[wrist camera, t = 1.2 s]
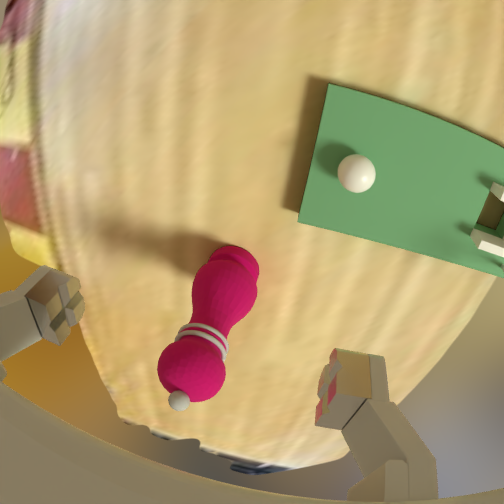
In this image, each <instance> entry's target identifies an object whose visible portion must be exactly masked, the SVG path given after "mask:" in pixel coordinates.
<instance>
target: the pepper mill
mask: <svg viewBox="0 0 504 504" xmlns="http://www.w3.org/2000/svg"><path fill="white" fill-rule="evenodd" d="M258 276H259V266H258V263H257V261H256V259H255V258H254V257H253V256H252V255H251V254H250V253H249V252H247V251H246V250H244V249H242V248H240V247H235V246H225V247H221V248H219V249H217V250H216V251H215V252H214V253H213V254H212V255H211V257H210V259H209V261H208V263H207V264H205V265H203V266H202V267H201V268H200V269H199V270H198V272H197V274H196V276H195V279H194V282H193V286H192V304H193V313H192V317H191V320H190V322H189V323H188V324H186V325H184V326H183V327H181V328H180V330H179V332H178V335H177V336H176V338H175V341H174V343H171V344H169V345H168V346H167V347H166V348H165V349H164V350H163V352H162V354H161V356H160V358H159V361H158V368H157V371H158V376H159V379H160V382H161V383H162V385H163V386H164V388H165V389H166V390H167V391H168V392H169V393H171V394H170V396H169V399H168V401H169V405H170V406H171V408H173V409H174V410H176V411H183V410H185V409H186V408H187V407H188V406H189V404H190V402H201V401H205V400H208V399H210V398H212V397H213V396H214V395H216V394H217V393H218V391H219V390H220V389H221V387H222V385H223V383H224V380H225V376H226V372H225V365H224V363H223V362H224V361H225V359H226V354H227V353H228V350H229V344H228V342H227V336H228V334H229V331H230V329H231V328H232V326H233V325H235V324H236V323H237V322H238V321H240V320H241V319H242V318H244V317H245V316H246V315H247V313H248V312H249V311H250V310H251V308H252V307H253V305H254V302H255V300H256V297H257V286H256V282H257V279H258Z"/></svg>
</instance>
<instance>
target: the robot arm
mask: <svg viewBox="0 0 504 504" xmlns="http://www.w3.org/2000/svg"><path fill="white" fill-rule="evenodd" d="M80 289H81V285H80V281H79V279H78V278H76V277H73V276H71V275H68V274H66V273H63V272H61V271H58V270H56V269H53V268H50V267H48V266H46V265H44V266H40V267H39V268H38V269H37V270H36V271H35V272H34V273H33V274H31V275H30V276H29V277H28V278H27V279H26V280H25V281H24V282H23V283H22V284H21V285H20V286H19V287H18V288H17V289H16V290H15V291H12V290H10V291H8V292H5V293H2V294H0V504H504V488H501V489H497V490H492V491H488V492H482V493H477V494H471V495H464V496H457V497H449V498H441V499H438V483H437V470H436V460H435V457H434V456H433V455H432V453H431V452H430V451H429V449H428V448H427V446H426V445H425V444H424V442H423V441H422V440H421V438H420V437H419V435H418V434H417V433H416V431H415V430H414V429H413V427H412V426H411V425H410V423H409V422H408V420H407V419H406V418H405V416H404V415H403V414H402V412H401V411H400V410H399V408H398V407H397V406H396V404H395V403H394V402H390V401H389V390H388V381H387V372H386V364H385V359H384V357H383V356H378V355H372V354H366V353H360V352H355V351H349V350H343V349H338V348H335V349H334V350H333V351H332V353H331V355H330V362H329V364H327V365H325V367H324V369H323V371H322V373H321V376H320V380H319V385H318V393H317V395H318V396H319V398H320V401H319V403H318V405H317V406H316V416H315V426H320V427H325V428H331V429H337V430H342V431H341V432H342V434H343V436H344V438H345V440H346V442H347V444H348V446H349V448H350V450H351V452H352V454H353V456H354V458H355V460H356V462H357V464H358V466H359V468H360V470H361V472H362V474H363V477H364V479H363V480H361V481H360V482H358V483H357V484H355V485H354V486H353V487H351V488H350V489H348V493H347V501H336V500H325V499H314V498H305V497H297V496H290V495H283V494H277V493H271V492H265V491H260V490H254V489H249V488H245V487H239V486H235V485H231V484H227V483H223V482H219V481H215V480H211V479H208V478H204V477H200V476H197V475H193V474H190V473H187V472H184V471H181V470H177V469H174V468H171V467H168V466H165V465H163V464H160V463H157V462H154V461H152V460H149V459H146V458H143V457H141V456H138V455H136V454H133V453H131V452H128V451H126V450H124V449H121V448H119V447H117V446H114V445H112V444H110V443H107V442H105V441H103V440H101V439H99V438H97V437H95V436H93V435H91V434H89V433H86V432H84V431H82V430H81V429H78V428H77V427H75V426H73V425H71V424H69V423H67V422H65V421H63V420H61V419H60V418H58V417H56V416H54V415H53V414H51V413H49V412H47V411H46V410H44V409H42V408H41V407H39V406H37V405H35V404H34V403H33V402H31V401H29V400H28V399H26V398H25V397H23V396H21V395H20V394H18V393H17V392H15V391H14V390H12V389H11V388H10V387H8V386H7V385H5V384H4V383H2V380H3V379H4V378H5V377H6V375H7V371H6V369H5V368H4V366H3V364H2V363H1V362H2V361H3V360H5V359H7V358H9V357H10V356H12V355H14V354H16V353H18V352H19V351H21V350H23V349H25V348H26V347H28V346H30V345H32V344H33V343H35V342H37V341H39V340H41V339H42V338H44V339H46V340H48V341H50V342H53V343H55V344H57V345H59V346H60V345H61V344H62V343H63V341H64V340H65V339H66V338H67V336H68V335H69V334H70V327H71V326H73V325H76V324H77V323H78V322H79V321H80V319H81V318H82V316H83V313H84V310H85V302H84V298H83V296H82V295H81V294H80V292H79V290H80ZM41 337H42V338H41Z"/></svg>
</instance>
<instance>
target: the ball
mask: <svg viewBox="0 0 504 504" xmlns="http://www.w3.org/2000/svg"><path fill="white" fill-rule="evenodd" d="M375 176H376V172H375V168H374V165H373V164H372V162H371V161H370V160H369V159H368V158H367V157H365V156H363V155H359V154H353V155H349V156H347V157H345V158H344V159H343V160H342V161H341V163H340V164H339V167H338V179H339V181H340V183H341V185H342V186H343V187H344V188H345V189H347V190H348V191H351V192H354V193H360V192H364V191H366V190H368V189H369V188H370V187H371V186H372V185H373V183H374V181H375Z"/></svg>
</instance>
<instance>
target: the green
mask: <svg viewBox="0 0 504 504" xmlns="http://www.w3.org/2000/svg"><path fill="white" fill-rule="evenodd" d="M353 154H359V155H363V156H365V157H367V158H368V159H369V160H370V161H371V162H372V164H373V165H374V168H375V172H376V176H375V181H374V183H373V185H372V186H371V187H370V188H369V189H368V190H366V191H364V192H360V193H354V192H351V191H348V190H347V189H345V188H344V187H343V186H342V185H341V183H340V181H339V179H338V167H339V164H340V163H341V161H342V160H343V159H344V158H345V157H347V156H349V155H353ZM489 191H491V192H492V193H493V194H494V195H495V196H496V197H497V198H498V199H499V200H500V201H503V202H504V148H503V147H501V146H499V145H498V144H496V143H494V142H492V141H490V140H487V139H485V138H483V137H481V136H479V135H477V134H475V133H473V132H471V131H468V130H466V129H464V128H462V127H459V126H457V125H455V124H452V123H450V122H448V121H445V120H443V119H440V118H438V117H435V116H433V115H430V114H427V113H425V112H422V111H419V110H417V109H414V108H411V107H408V106H405V105H403V104H400V103H397V102H394V101H391V100H388V99H384V98H381V97H378V96H375V95H371V94H368V93H365V92H361V91H357V90H354V89H350V88H346V87H343V86H339V85H335V84H331V83H328V87H327V92H326V97H325V101H324V106H323V111H322V115H321V120H320V125H319V129H318V134H317V138H316V143H315V147H314V152H313V156H312V160H311V165H310V169H309V173H308V178H307V182H306V186H305V190H304V195H303V199H302V203H301V207H300V211H299V216H298V222H299V223H303V224H308V225H312V226H316V227H320V228H324V229H328V230H332V231H336V232H340V233H344V234H348V235H352V236H356V237H360V238H364V239H367V240H371V241H375V242H379V243H383V244H387V245H390V246H394V247H398V248H401V249H405V250H409V251H412V252H416V253H420V254H423V255H427V256H430V257H434V258H438V259H441V260H445V261H448V262H451V263H455V264H458V265H462V266H465V267H469V268H472V269H475V270H479V271H482V272H485V273H489V274H492V275H495V276H498V277H502V278H504V213H503V215H502V218H501V220H500V222H499V224H498V226H497V228H496V230H494V229H491V228H488V227H486V226H483V225H480V224H478V223H476V222H477V219H478V217H479V215H480V213H481V210H482V208H483V206H484V203H485V201H486V199H487V196H488V194H489Z"/></svg>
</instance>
